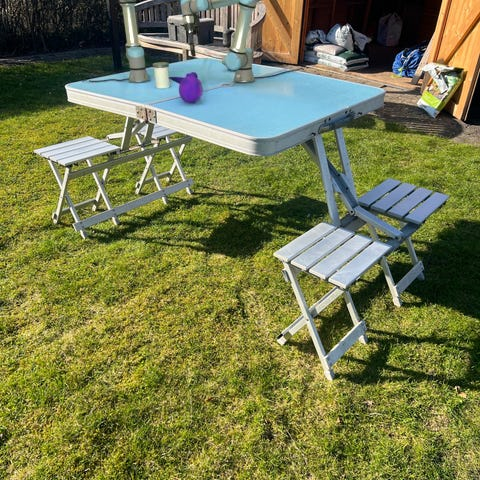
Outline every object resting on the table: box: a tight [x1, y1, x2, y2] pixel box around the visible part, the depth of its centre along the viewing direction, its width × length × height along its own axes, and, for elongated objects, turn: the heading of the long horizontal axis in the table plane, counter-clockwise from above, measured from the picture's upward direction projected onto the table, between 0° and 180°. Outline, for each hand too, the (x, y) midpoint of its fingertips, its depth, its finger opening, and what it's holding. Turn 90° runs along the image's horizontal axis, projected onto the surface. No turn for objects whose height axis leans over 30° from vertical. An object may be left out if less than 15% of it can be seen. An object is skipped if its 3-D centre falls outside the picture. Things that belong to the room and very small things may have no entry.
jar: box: [153, 67, 171, 89], centre depth 316 cm, size 10×10×15 cm
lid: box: [152, 61, 170, 69], centre depth 313 cm, size 11×11×2 cm
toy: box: [168, 71, 204, 104], centre depth 278 cm, size 16×18×27 cm
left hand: (196, 35), depth 349 cm, fingers open, 13 cm apart
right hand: (193, 55), depth 321 cm, fingers open, 13 cm apart
